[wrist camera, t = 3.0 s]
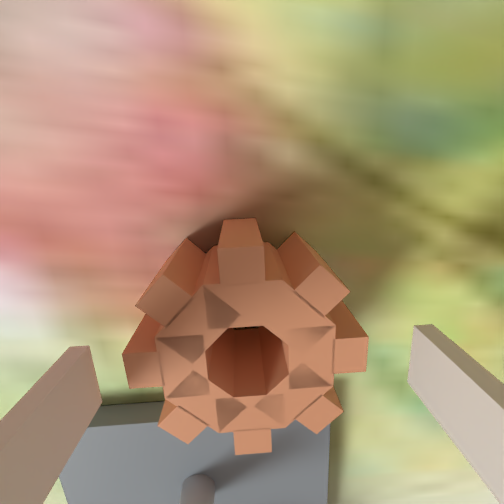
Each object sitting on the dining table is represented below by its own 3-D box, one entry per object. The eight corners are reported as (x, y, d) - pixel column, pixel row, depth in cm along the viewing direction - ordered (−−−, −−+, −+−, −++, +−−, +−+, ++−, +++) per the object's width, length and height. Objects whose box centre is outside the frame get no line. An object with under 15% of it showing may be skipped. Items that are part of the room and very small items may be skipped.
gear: (144, 224, 15) (101, 255, 10) (332, 213, 15) (376, 239, 10) (169, 380, 18) (144, 462, 13) (327, 368, 18) (360, 444, 13)
